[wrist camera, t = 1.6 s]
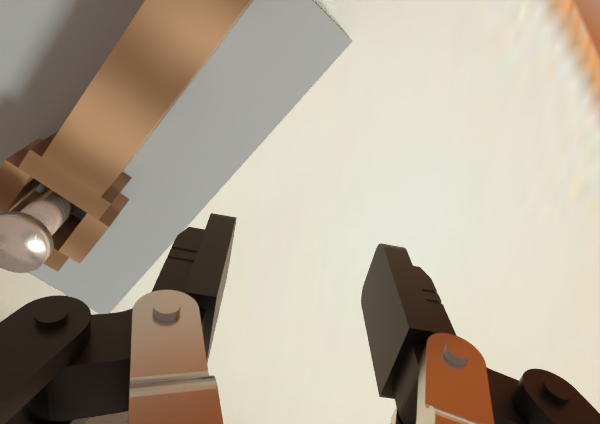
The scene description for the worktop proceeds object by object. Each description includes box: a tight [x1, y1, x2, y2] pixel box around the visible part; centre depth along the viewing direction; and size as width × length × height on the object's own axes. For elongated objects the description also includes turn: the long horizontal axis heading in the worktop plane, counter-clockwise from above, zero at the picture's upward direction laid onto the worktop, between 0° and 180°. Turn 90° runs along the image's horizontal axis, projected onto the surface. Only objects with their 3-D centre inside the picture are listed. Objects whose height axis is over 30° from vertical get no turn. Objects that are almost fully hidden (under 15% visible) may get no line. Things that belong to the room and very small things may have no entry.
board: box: [0, 0, 352, 314], centre depth 25 cm, size 26×26×2 cm
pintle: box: [0, 188, 78, 273], centre depth 26 cm, size 3×3×9 cm
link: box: [0, 0, 253, 272], centre depth 24 cm, size 21×6×4 cm, turn 138°
